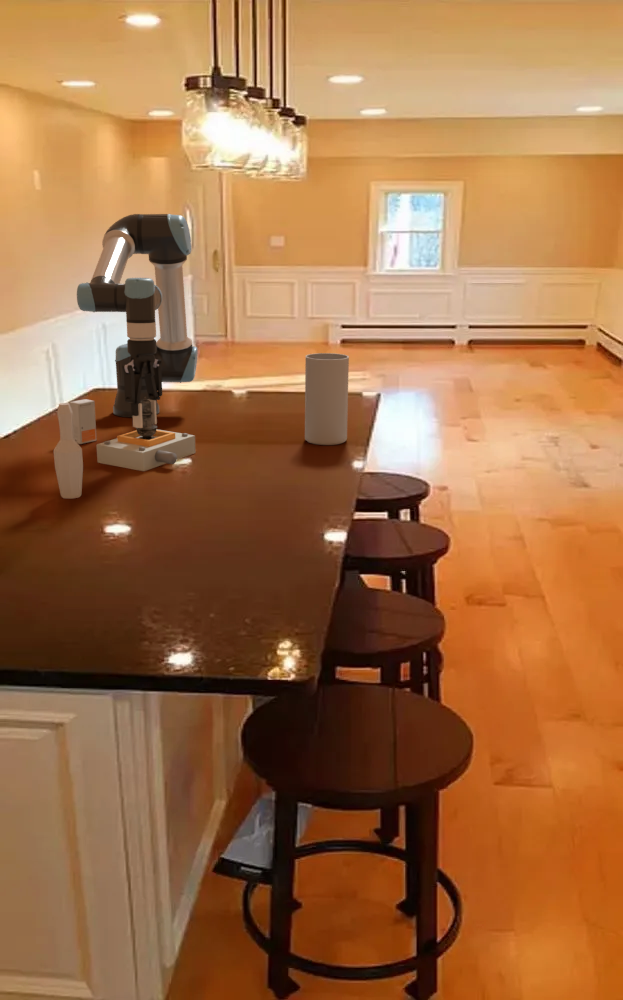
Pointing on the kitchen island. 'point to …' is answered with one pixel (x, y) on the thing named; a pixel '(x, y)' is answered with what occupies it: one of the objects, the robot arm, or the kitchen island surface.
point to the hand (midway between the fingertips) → (145, 425)
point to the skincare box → (83, 421)
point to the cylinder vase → (326, 398)
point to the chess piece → (146, 421)
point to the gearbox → (145, 450)
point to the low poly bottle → (68, 456)
